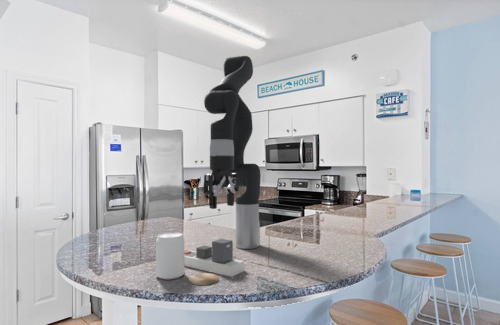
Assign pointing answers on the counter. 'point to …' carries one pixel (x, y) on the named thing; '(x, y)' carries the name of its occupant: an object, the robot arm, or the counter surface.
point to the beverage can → (170, 255)
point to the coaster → (204, 279)
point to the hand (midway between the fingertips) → (222, 207)
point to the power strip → (204, 262)
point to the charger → (222, 251)
